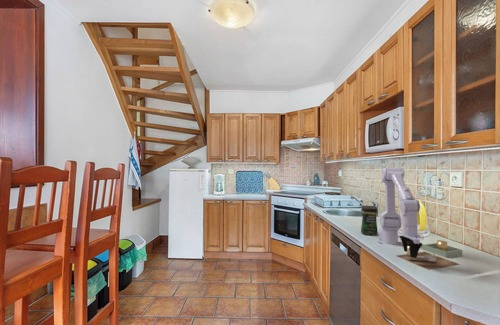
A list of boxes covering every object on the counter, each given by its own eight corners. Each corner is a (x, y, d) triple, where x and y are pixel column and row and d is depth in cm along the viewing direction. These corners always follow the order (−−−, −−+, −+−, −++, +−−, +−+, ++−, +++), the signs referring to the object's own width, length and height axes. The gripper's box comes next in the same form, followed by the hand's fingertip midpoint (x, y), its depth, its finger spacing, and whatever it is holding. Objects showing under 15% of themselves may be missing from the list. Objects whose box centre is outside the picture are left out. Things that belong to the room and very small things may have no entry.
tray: (422, 251, 123) (422, 244, 123) (438, 249, 126) (438, 242, 126) (445, 259, 112) (445, 252, 112) (462, 257, 115) (462, 249, 116)
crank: (433, 259, 109) (433, 246, 109) (438, 263, 105) (438, 249, 105) (405, 257, 112) (405, 244, 112) (409, 261, 108) (409, 247, 108)
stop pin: (435, 252, 121) (435, 240, 121) (441, 251, 121) (441, 240, 122) (443, 255, 117) (443, 243, 117) (449, 254, 118) (449, 242, 118)
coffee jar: (362, 235, 152) (362, 206, 152) (360, 231, 159) (359, 204, 160) (379, 236, 149) (379, 207, 150) (375, 232, 157) (375, 205, 157)
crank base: (395, 257, 115) (395, 255, 115) (425, 253, 120) (425, 251, 120) (428, 272, 99) (428, 269, 99) (461, 266, 105) (461, 263, 105)
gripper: (427, 229, 102) (427, 261, 102) (412, 221, 116) (413, 249, 116) (409, 228, 104) (409, 259, 103) (396, 221, 118) (397, 248, 117)
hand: (410, 254), depth 110 cm, fingers open, 7 cm apart
